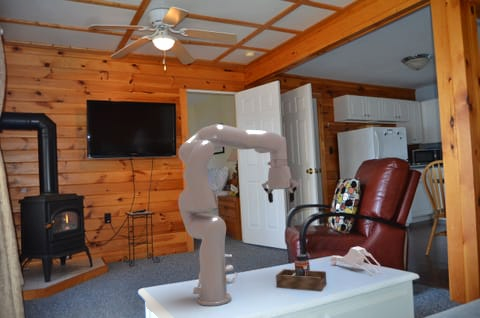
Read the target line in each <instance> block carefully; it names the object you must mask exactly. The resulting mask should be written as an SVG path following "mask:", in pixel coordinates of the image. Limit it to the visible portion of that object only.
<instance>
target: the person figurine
mask: <svg viewBox="0 0 480 318" xmlns="http://www.w3.org/2000/svg"><path fill="white" fill-rule="evenodd" d="M228 257H229V258H233V254H227V253H225V258H228ZM225 266H226V272H230V271H231V272H232V271H233V270H234V266H233V264H227V265H225ZM238 275H239V274H238V272H236V271H235V272H234V276H232V277H231V278H228V277H227V276H226V283H228V284H231V282H232V283H233V282H234V281H235V279H236V277H237V276H238ZM196 287H199V288H201V276H200V273H199V274H198V282H197V285H196Z"/></svg>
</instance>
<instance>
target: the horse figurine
mask: <svg viewBox="0 0 480 318" xmlns="http://www.w3.org/2000/svg"><path fill="white" fill-rule="evenodd" d="M366 256H367V257H370V258H371V259H372V260H373V261H374V262H375V263H376V265H377V266H378V268H380V267H381V264H380V263H379V262H378V261H377V260H376V259H375V258H374V257H373V255H372V254H371V253H370V252H368V251H367V250H366V248H364V247H361V246H358V245H357V246H354V247H350V249H349V250H348V252H347V254H345V255H344V256H341V255H331V256H330V258H329V262H330V263H331V265H332V266H336V264H337V261H338V262H339V263H341V264H344V265H348V266H350V267H351V268H356V267H358V268H360V269H361V270H364V271H366V272H367V273H369V276H370V275H371V276H372V275H373V273H372V272H371V271H370V270H368V269H367V268H370V269H371V270H373V271H374V272H375V273H376V274H377V275H378V274H379V271H378V270H377V269H376V268H375V266H374V265H373V264H372V263H371V262H370V261H369V259H368V258H367V257H366ZM365 261H366V262H367V263H366V262H365ZM363 266H365V267H367V268H365V267H363Z"/></svg>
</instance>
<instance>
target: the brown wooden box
mask: <svg viewBox="0 0 480 318" xmlns="http://www.w3.org/2000/svg"><path fill="white" fill-rule="evenodd" d="M294 273H295V269H287V268H286V269H285V268H284V269H282V270H281V271H279V272H278V273H276V275H275V281H276V289H287V290H288V289H290V290H301V291H302V290H303V291H315V292H322V291H323V290H324V289H325V286H326V285H327V272H326V271H324V270H323V271H321V270H310V277H309V276H293V274H294Z"/></svg>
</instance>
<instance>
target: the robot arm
mask: <svg viewBox="0 0 480 318" xmlns="http://www.w3.org/2000/svg"><path fill="white" fill-rule="evenodd" d="M215 147H224V148H231V149H236V150H254V151H255V152H256V153H258V154H267V153H269V157H270V158H269V159H270V161H269V162H267V166H270V167H269V168H268V174H267V181H266V182H264V183H262V184H261V186H262V188H263V190H264V191H265V192H266V194H267V197H268V203H269V204H272V203H273V202H274V195H273V191H274V190H286V189H287V191H289V202H290V203H294V200H295V192H296V191H297V190H298V188H299V185H300V182H299V181H297V180H294V179H293V178H292V173H291V170H290V166H288V155H287V154H288V153H287V152H288V151H287V140H286V137H285V136H281V135H280V134H279V133H276V132H272V131H268V130H257V129H256V130H255V129H248V128H240V127H236V126H230V125H226V124H221V123H218V124H217V123H216V124H212V125H208V126H204V127H202V128H201V129H199V130H198V131H196V133H194V134H193V135H191V137H189V138H188V139H187V140H186V141H184V142H183V143H182V144H181V145H180V146H179V148H178V158H179V160H180V161H181V162H182V163H184V164H185V165H184V166H185V167H184V170H183V179H184V183H185V187H186V188H185V189H184V190H183V191H181V192H180V194H179V196H178V202H177V204H178V209H179V213H180V215H181V218H182V222H183V225H184V228H185V231H186V232H187V234H188V235H189V236H190V237H191V238H194V239H197V240H201V243H200V247H199V255H198V257H199V274H200V276H201V285H200V287H197V286H194V287H193V291H192V294H193V295H198V297H197V299H196V300H197V303H198V304H199V305H201V306H210V307H212V306H214V307H215V306H221V305H224V304H227V303H229V302H230V301H232V295H231V294H230V293H228V289H227V282H226V277H227V271H226V266H227V265H226V257H225V254H226V253H225V251H226V250H225V249H226V248H225V246H226V245H225V242H226V234H227V226H226V222H225V220H224V219H223V218H221V216H219V215H216V214H215V215H214V214H206V213H210V212H211V211H212V210H214V208H215V203H216V202H215V198H214V194H213V191H212V188H211V185H210V181H209V178H208V167H209V164H210V162H211V160H212V159H213V156H214V154H215ZM293 184H294V187H293Z"/></svg>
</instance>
